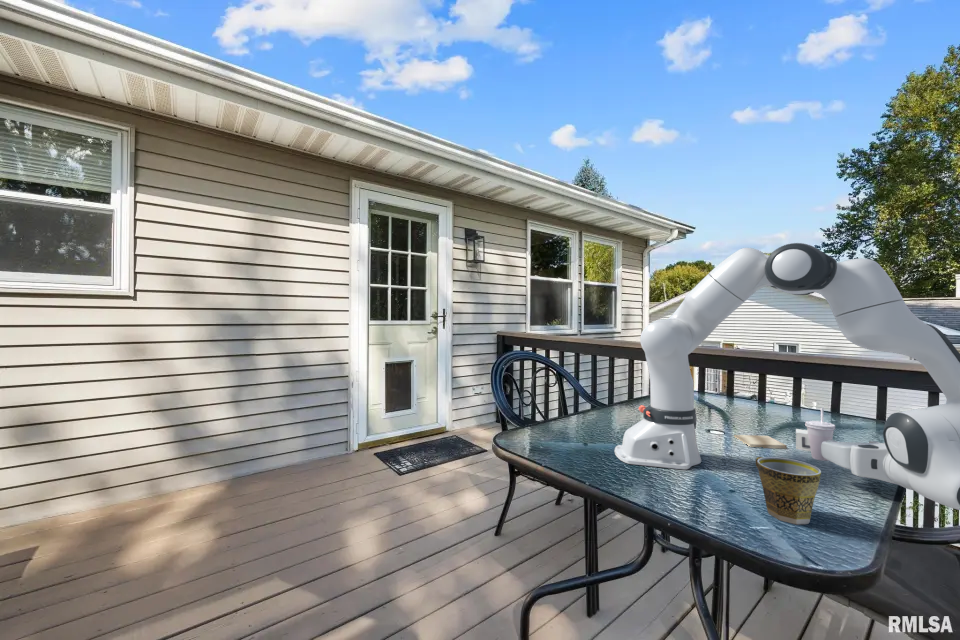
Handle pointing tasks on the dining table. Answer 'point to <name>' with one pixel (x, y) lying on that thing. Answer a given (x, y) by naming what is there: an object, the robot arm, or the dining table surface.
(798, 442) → the letter cube
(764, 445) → the maple pad
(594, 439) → the dining table surface
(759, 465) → the ceramic cup
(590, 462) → the dining table surface
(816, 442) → the smoothie
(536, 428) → the dining table surface
